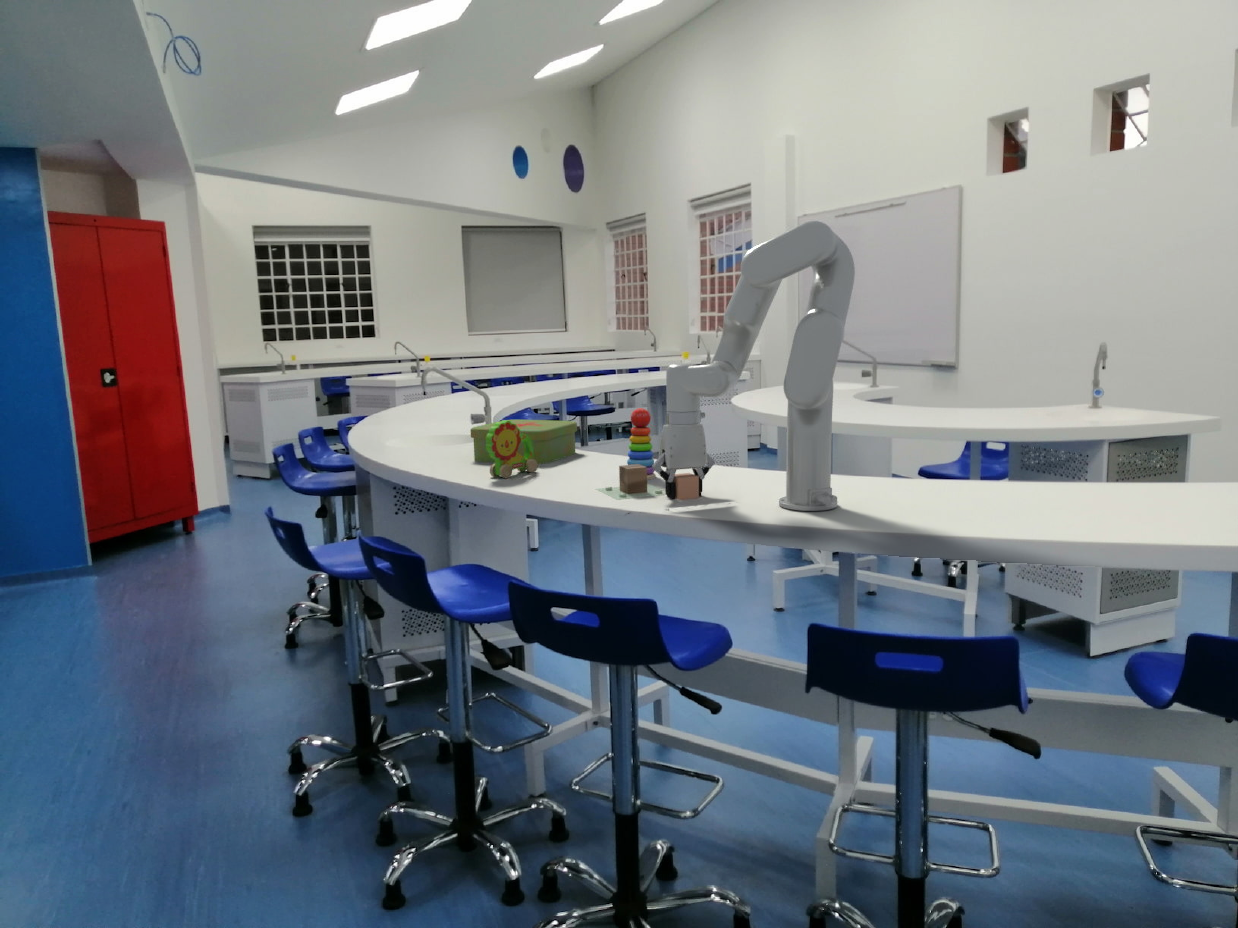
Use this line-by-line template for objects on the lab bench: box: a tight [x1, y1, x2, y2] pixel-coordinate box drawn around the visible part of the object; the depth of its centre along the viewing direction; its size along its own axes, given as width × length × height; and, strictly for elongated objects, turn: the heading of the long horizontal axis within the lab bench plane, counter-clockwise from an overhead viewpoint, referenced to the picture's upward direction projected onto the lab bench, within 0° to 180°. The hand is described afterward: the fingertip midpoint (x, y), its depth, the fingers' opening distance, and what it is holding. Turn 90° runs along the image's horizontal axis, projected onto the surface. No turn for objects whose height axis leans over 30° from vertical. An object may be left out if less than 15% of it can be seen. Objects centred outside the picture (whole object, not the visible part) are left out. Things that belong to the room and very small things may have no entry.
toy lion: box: [486, 419, 539, 479], centre depth 239 cm, size 16×5×15 cm, turn 141°
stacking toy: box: [626, 407, 657, 480], centre depth 226 cm, size 8×8×19 cm
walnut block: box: [618, 464, 648, 494], centre depth 208 cm, size 5×5×6 cm
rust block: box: [673, 472, 700, 501], centre depth 201 cm, size 5×5×6 cm
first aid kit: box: [470, 419, 578, 465], centre depth 273 cm, size 26×26×10 cm
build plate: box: [595, 483, 667, 501], centre depth 209 cm, size 14×14×2 cm
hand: (684, 496), depth 202 cm, fingers open, 5 cm apart
